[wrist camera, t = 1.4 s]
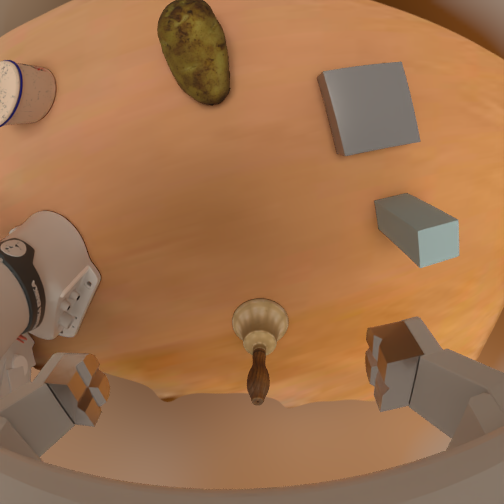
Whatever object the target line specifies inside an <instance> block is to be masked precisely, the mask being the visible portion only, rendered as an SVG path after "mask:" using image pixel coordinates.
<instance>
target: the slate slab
mask: <svg viewBox="0 0 504 504" xmlns="http://www.w3.org/2000/svg"><path fill="white" fill-rule="evenodd" d="M317 80H318V83H319V87H320V90H321V94H322V97H323V101H324V104H325V108H326V112H327V116H328V119H329V123H330V127H331V131H332V135H333V139H334V143H335V148H336V152H337V154H340V155H343V156H349V155H353V154H358V153H363V152H368V151H373V150H378V149H383V148H388V147H394V146H399V145H404V144H410V143H416V142H420V137H419V131H418V126H417V121H416V117H415V112H414V108H413V103H412V99H411V95H410V91H409V87H408V83H407V79H406V76H405V72H404V69H403V65H402V62H392V63H382V64H372V65H364V66H356V67H349V68H342V69H335V70H329V71H323V72H322V73H321V74H320V75H319V76H317Z"/></svg>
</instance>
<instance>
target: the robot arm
mask: <svg viewBox="0 0 504 504" xmlns="http://www.w3.org/2000/svg"><path fill="white" fill-rule="evenodd" d="M100 280H101V276H100V274H99V272H98V270H97V269H96V267H95V266H94V265H93V263H92V262H91V261H90V258H89V256H88V253H87V250H86V247H85V244H84V242H83V240H82V238H81V236H80V234H79V233H78V231H77V230H76V229H75V227H74V226H73V225H72V224H71V223H70V222H69V221H68V220H67V219H65V218H64V217H62V216H61V215H59V214H57V213H54V212H51V211H40V212H37V213H35V214H33V215H31V216H30V217H29V218H28V219H27V220H26V221H25V222H24V223H23V224H22V225H20V226H17V227H15V228H13V229H12V230H11V231H10V232H9V235H8V236H6V237H5V238H4V239H3V240H1V241H0V360H1V358H2V357H3V356H4V354H5V353H6V351H7V350H8V349H9V348H10V346H11V345H12V344H13V343H14V341H15V340H16V339H17V340H18V341H20V342H22V343H23V344H24V342H23V341H22V340H21V339H23V340H27V338H26V337H24V336H23V335H22V334H25V333H27V332H29V333H31V334H33V335H34V336H37V337H39V338H42V339H46V340H51V339H54V338H55V337H57V335H60V336H64V337H74V336H75V335H76V334H77V332H78V330H79V327H80V325H81V323H82V320H83V318H84V316H85V313H86V311H87V309H88V306H89V304H90V302H91V300H92V298H93V295H94V293H95V291H96V289H97V287H98V285H99V283H100ZM89 281H90V282H91V283H92V284H90V283H89ZM18 337H19V338H18ZM366 341H367V343H368V345H369V349H368V350H367V351H366V356H365V363H366V372H367V376H368V379H369V382H370V384H371V385H373V386H375V390H374V396H375V399H376V402H377V405H378V407H379V410H380V412H382V411H387V410H391V409H396V408H400V407H405V406H409V407H410V408H411V409H413V410H414V411H415V412H417V413H418V414H419V415H421V416H422V417H423V418H425V419H426V420H427V421H429V422H430V423H431V424H433V425H434V426H436V427H437V428H438V429H440V430H441V431H442V432H443V433H445V434H446V435H448V436H449V437H450V438H452V440H451V442H450V444H449V446H448V448H447V450H446V451H443V452H440V453H438V454H435V455H432V456H429V457H426V458H423V459H420V460H417V461H414V462H410V463H407V464H403V465H400V466H396V467H392V468H389V469H385V470H381V471H376V472H373V473H368V474H364V475H359V476H354V477H349V478H343V479H338V480H332V481H326V482H319V483H312V484H304V485H295V486H285V487H273V488H256V489H196V488H179V487H168V486H157V485H149V484H141V483H134V482H127V481H121V480H115V479H110V478H105V477H100V476H95V475H91V474H86V473H82V472H77V471H74V470H69V469H66V468H62V467H58V466H55V465H52V464H48V463H45V462H43V461H42V460H41V458H40V456H41V455H43V454H44V453H45V452H46V451H47V450H48V449H49V448H50V447H51V446H53V445H54V444H55V443H56V442H57V441H58V440H59V439H60V438H61V437H62V436H64V435H65V434H66V433H67V432H68V431H69V430H70V429H71V428H72V427H73V426H74V424H77V425H85V426H95V425H96V423H97V421H98V418H99V416H100V414H101V412H102V411H101V408H100V406H102V405H103V404H104V403H106V402H107V400H108V397H109V392H110V386H109V382H108V379H107V377H106V375H105V374H104V373H103V372H102V371H100V370H99V362H98V360H97V358H96V357H95V356H94V355H92V354H85V353H55V354H53V355H52V356H51V358H50V359H49V360H48V362H47V363H46V364H45V366H44V367H43V368H42V370H41V371H40V372H39V374H38V375H37V376H36V378H35V379H34V380H33V382H30V381H29V382H28V383H26V384H24V385H23V386H21V387H19V388H18V389H16V390H14V391H13V392H11V393H9V394H8V395H6V396H4V397H3V398H1V399H0V504H504V373H503V372H500V371H498V370H495V369H493V368H491V367H488V366H486V365H484V364H482V363H479V362H477V361H475V360H472V359H470V358H468V357H465V356H463V355H461V354H458V353H456V352H454V351H452V350H449V349H445V350H443V349H442V348H441V346H440V345H439V344H438V342H437V341H436V339H435V338H434V336H433V335H432V334H431V332H430V331H429V329H428V328H427V327H426V325H425V324H424V323H423V321H422V320H421V318H419V317H413V318H409V319H405V320H401V321H399V322H395V323H390V324H385V325H380V326H375V327H370V328H368V329H367V335H366Z"/></svg>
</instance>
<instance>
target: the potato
mask: <svg viewBox="0 0 504 504" xmlns="http://www.w3.org/2000/svg"><path fill="white" fill-rule="evenodd" d="M157 31H158V37H159V41H160V43H161V47H162V52H163V54H164V56H165V58H166V61H167V63H168V65H169V67H170V70H171V72H172V74H173V76H174V77H175V79H176V81H177V83H178V84H179V86H180V87H181V88H182V89H183V91H184V92H185V93H187V94H188V95H189V96H191V97H192V98H194V99H195V100H197V101H198V102H200V103H202V104H206V105H214V104H219V103H221V102H222V101H223V100H224V99H225V97H226V96H227V95H228V93H229V91H230V72H229V61H228V53H227V47H226V41H225V36H224V32H223V29H222V27H221V25H220V24H219V22H218V20H217V19H216V17H215V15H214V13H213V11H212V9H211V8H210V6H209V5H208V4H207V3H206V2H205V1H203V0H175V1H173V2H171V3H170V4H169V5H168V6H166V8H165V9H164V10H163V12H162V14H161V16H160V18H159V21H158V29H157Z"/></svg>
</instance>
